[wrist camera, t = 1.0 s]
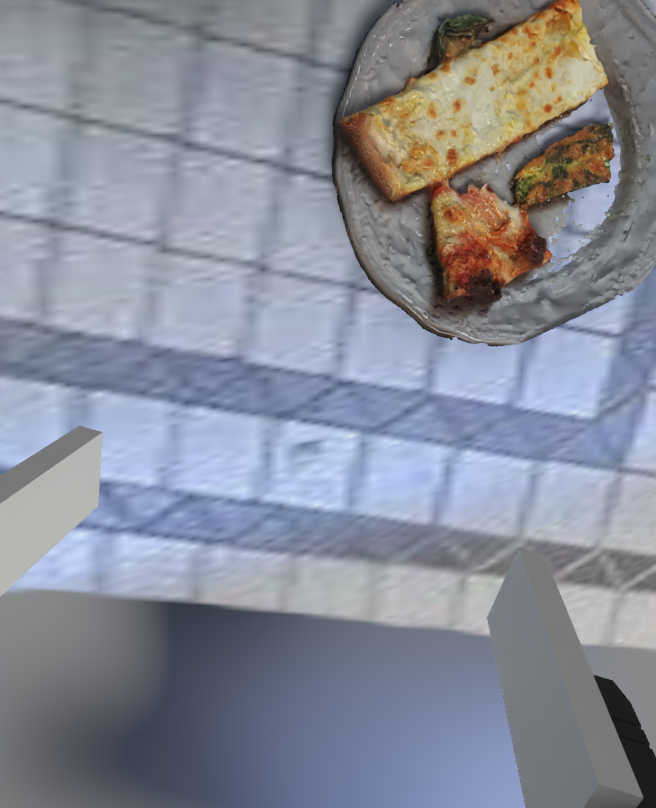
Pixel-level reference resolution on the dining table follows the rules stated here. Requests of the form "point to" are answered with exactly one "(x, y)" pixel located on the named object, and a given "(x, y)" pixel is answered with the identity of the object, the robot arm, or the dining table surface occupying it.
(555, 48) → the food plate
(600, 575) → the dining table surface
